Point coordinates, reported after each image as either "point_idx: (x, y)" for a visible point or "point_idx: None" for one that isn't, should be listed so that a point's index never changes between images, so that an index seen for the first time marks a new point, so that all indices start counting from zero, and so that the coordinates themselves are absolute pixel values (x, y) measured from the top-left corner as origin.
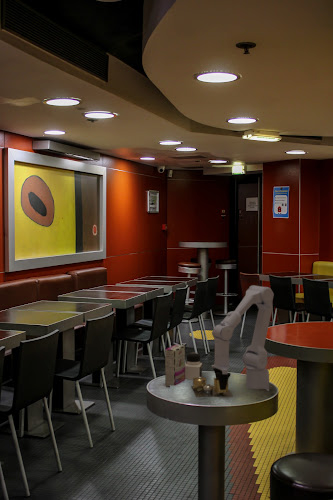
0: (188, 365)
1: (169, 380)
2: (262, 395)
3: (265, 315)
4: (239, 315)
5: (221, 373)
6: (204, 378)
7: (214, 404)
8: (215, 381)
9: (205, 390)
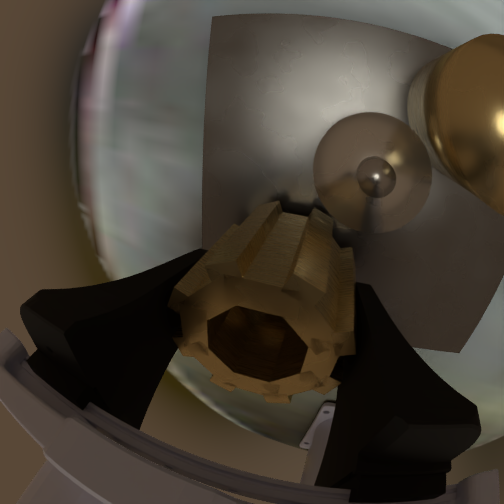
0: None
1: None
2: (255, 413)
3: None
4: None
5: (38, 348)
6: None
7: (109, 140)
8: (219, 253)
9: (336, 122)
